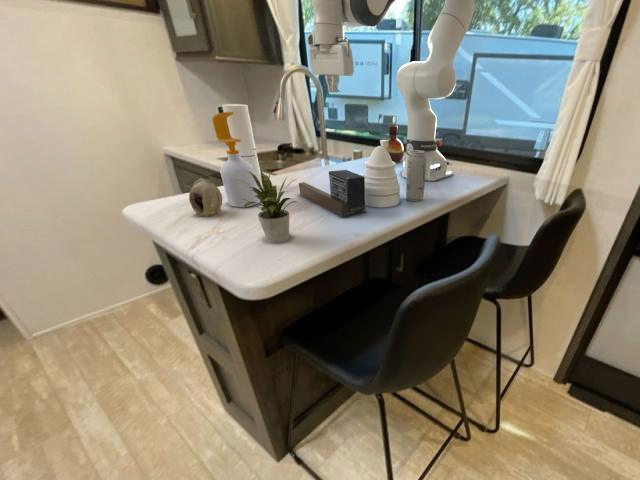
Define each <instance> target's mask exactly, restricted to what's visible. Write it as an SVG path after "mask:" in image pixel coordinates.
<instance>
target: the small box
mask: <svg viewBox="0 0 640 480" xmlns="http://www.w3.org/2000/svg"><path fill="white" fill-rule="evenodd" d="M328 178H329V190H330V193H329V194H330V195H332V196H334V197H336V198H338V199H341V200H343V201H345V202H347V203H348V216H353V215H356V214H362V213H366V205H365V177H364V176H363V175H361V174H359V173H355V172H353V171H350V170H347V169H340V170H329V171H328Z"/></svg>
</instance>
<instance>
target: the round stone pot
mask: <svg viewBox="0 0 640 480" xmlns="http://www.w3.org/2000/svg"><path fill="white" fill-rule="evenodd" d="M188 200H189V203H190V205H191V208H192V210H193V211H194V212H195V214H194V215H195V216H197V217H212V216H215V215H218V214H219V213H220V211H221V208H222V206H223V195H222V191H221V190H220V188H218V187H217V185H215V184H214V183H213V182H211V180H210V179H204V178H202V177H201V178H199V179H197V180H195V181H194V182H193V185H192V187H191V189H190V191H189V193H188Z"/></svg>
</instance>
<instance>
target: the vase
mask: <svg viewBox="0 0 640 480" xmlns="http://www.w3.org/2000/svg"><path fill="white" fill-rule="evenodd" d="M398 129H399V127H398V125H396V124H390V125H388V138H386V139H385V140H388V145H387V146H386V147H385V149H386V150H387V151H388V153H389V155H390V157H391V159H392V161H393V162H395V163H396V164H397V163H400V162H402V160H403V158H404V155H405V145H404V144H403V141H401V140H400V139H399V138H398Z"/></svg>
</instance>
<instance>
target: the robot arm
mask: <svg viewBox="0 0 640 480" xmlns="http://www.w3.org/2000/svg"><path fill="white" fill-rule="evenodd" d="M394 2H396V0H311V6H312V10H313V29H312V31H311V33H310V34H309V35H308V36H307V37H306V43H307V46H309V49H308V50H309V51H308V55H309V63H310V71H311V72H312V75H315V76H324V79H325V82H326V85H327V92H328V93H335V94H338V91H339V90H338V86H339V83H340V76H341V77H342V76H343V77H353V75H354V73H355V67H354V66H355V65H354V57H353V50H352V48H351V43H350V42H349V40H348V38H347V37H346V36H345V26H346V27H347V28H351V29H358V28H364V27H376V26H378V25H380V24H381V23H382V22H383V20H384V19H385V17H386V15H387V13H388V11H389V9H390V8H391V6H392V4H393V3H394ZM475 10H476V1H475V0H444V4H443V8H442V9H441V11H440V13H439V15H438V17H437V19H436V21H435V23H434V25H433V28H432V29H431V32H430V33H429V36H428V38H427V47H428V49H429V55H428V58H427V59H426V60H425V61H411V62H408V63H405V64H403V65H402V66H400V68H399V69H398V71H397V74H396V86H397V89H398V91H399V92H400V93H401V96H402V97H403V101H404V103H405V108H406V114H407V137H406V139H405V156H404V161H403V164H402V166H403V168H402V173H401V177H403V178H405V179H407V163H408V155H409V154H410V151H411V150H422V151H425V155H426V157H427V160H426V173H425V181H429V182H435V181H438V180H441V179H445V178H447V177H450V176H452V175H453V173H452V171H450V170H447V169H448V165H449V164H450V162H449V161H448V160H447V159H446V157H445V156H443V154H442V153H441V152H440V151H439V150H438V147H442V145H443V141H442V140H439V139H437V140H436V133H437V131H436V130H437V122H438V120H437V119H438V118H437V114H435V112H434V111H433V110H432V107H431V102H430V100H439V99H440V100H441V99H445V98H448V97H450V96H451V95H452V94H453V92H454V90H455V87H456V85H457V74H456V70H455V68H454V62H455V57H456V55H457V53H458V51H459V48H460V46H461V44H462V42H463V40H464V37H465V36H466V34H467V32H468V30H469V27H470V24H471V22H472V19H473V16H474V13H475ZM447 161H448V162H447Z"/></svg>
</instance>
